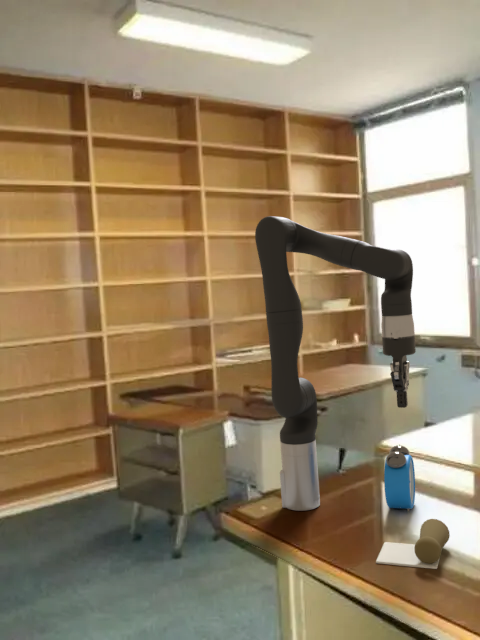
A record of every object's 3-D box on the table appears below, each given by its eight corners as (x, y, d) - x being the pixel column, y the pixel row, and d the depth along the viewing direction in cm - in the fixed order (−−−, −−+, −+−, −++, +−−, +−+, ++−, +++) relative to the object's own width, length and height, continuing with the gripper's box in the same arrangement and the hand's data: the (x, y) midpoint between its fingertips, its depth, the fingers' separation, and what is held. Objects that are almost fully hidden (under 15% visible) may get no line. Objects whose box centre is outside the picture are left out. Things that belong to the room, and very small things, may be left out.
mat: (376, 563, 133) (376, 561, 133) (384, 543, 142) (384, 541, 142) (436, 569, 129) (436, 567, 129) (441, 548, 138) (441, 546, 138)
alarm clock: (411, 517, 156) (407, 456, 156) (385, 516, 159) (381, 455, 158) (416, 499, 169) (412, 442, 168) (392, 498, 171) (388, 441, 170)
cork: (423, 547, 140) (414, 569, 130) (417, 519, 140) (407, 539, 130) (452, 545, 138) (445, 568, 128) (446, 517, 138) (438, 537, 128)
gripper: (387, 332, 161) (391, 401, 162) (376, 337, 149) (381, 412, 150) (418, 331, 158) (422, 401, 159) (410, 336, 146) (415, 413, 147)
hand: (402, 406), depth 154 cm, fingers closed
